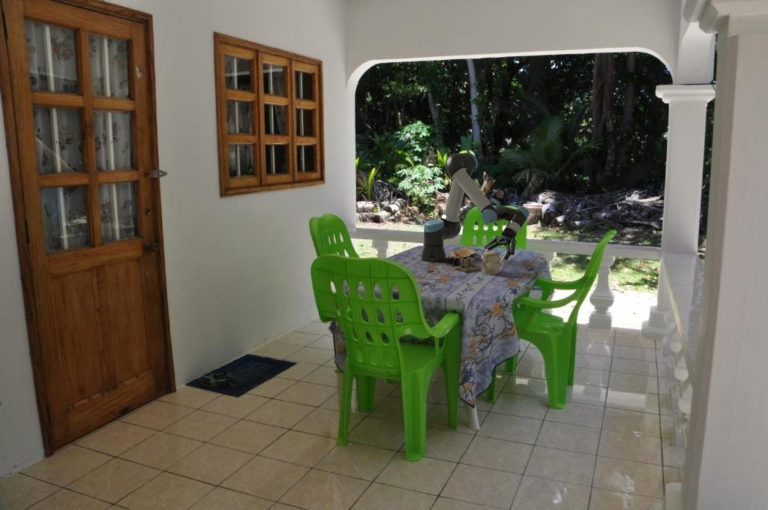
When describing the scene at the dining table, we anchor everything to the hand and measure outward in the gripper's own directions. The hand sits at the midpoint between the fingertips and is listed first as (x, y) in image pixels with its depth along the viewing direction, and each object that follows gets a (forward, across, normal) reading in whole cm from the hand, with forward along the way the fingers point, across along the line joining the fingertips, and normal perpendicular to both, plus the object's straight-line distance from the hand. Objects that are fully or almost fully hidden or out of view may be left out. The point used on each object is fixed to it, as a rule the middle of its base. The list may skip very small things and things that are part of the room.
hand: (491, 261), depth 339 cm
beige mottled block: (+4, +1, -5) cm, 6 cm away
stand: (+8, +14, -1) cm, 16 cm away
